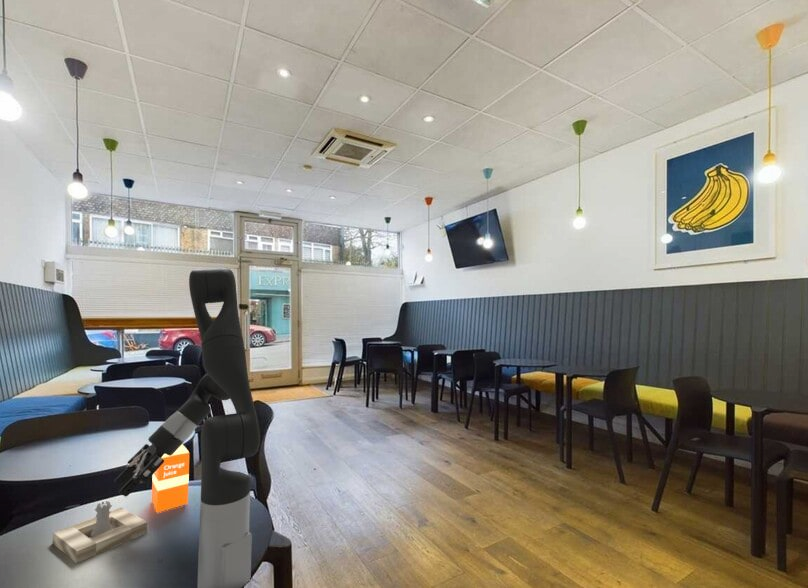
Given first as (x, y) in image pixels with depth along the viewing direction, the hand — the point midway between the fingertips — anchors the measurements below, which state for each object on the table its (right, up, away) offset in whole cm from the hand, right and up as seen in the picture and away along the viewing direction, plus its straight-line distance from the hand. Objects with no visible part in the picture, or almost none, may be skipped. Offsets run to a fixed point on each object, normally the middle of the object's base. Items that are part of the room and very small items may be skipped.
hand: (119, 489), depth 95 cm
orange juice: (+3, -12, +15) cm, 19 cm away
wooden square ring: (-3, -10, -3) cm, 11 cm away
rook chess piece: (-2, -11, -3) cm, 11 cm away
